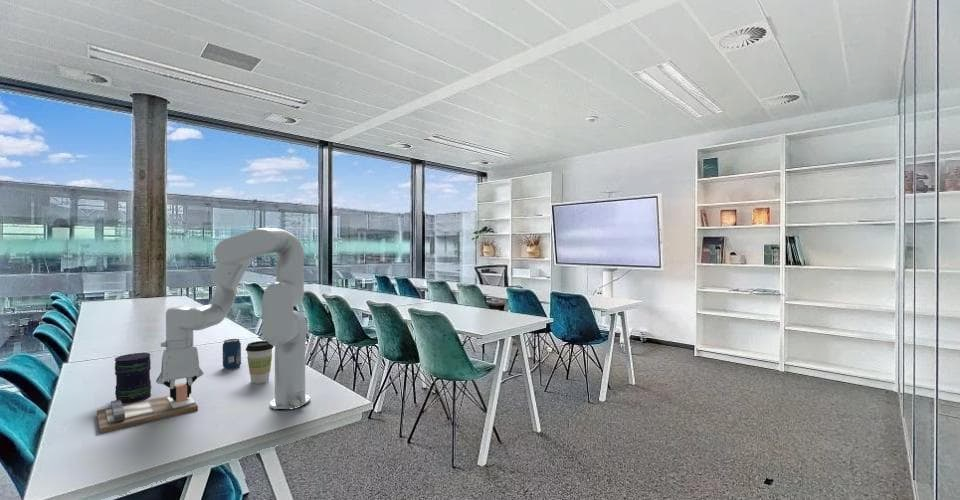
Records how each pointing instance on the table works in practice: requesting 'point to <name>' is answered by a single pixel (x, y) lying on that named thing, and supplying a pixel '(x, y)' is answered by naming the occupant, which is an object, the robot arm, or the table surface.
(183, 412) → the board
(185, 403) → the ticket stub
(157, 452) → the table surface
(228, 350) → the soda can
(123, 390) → the storage jar
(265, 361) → the coffee cup
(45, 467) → the table surface
